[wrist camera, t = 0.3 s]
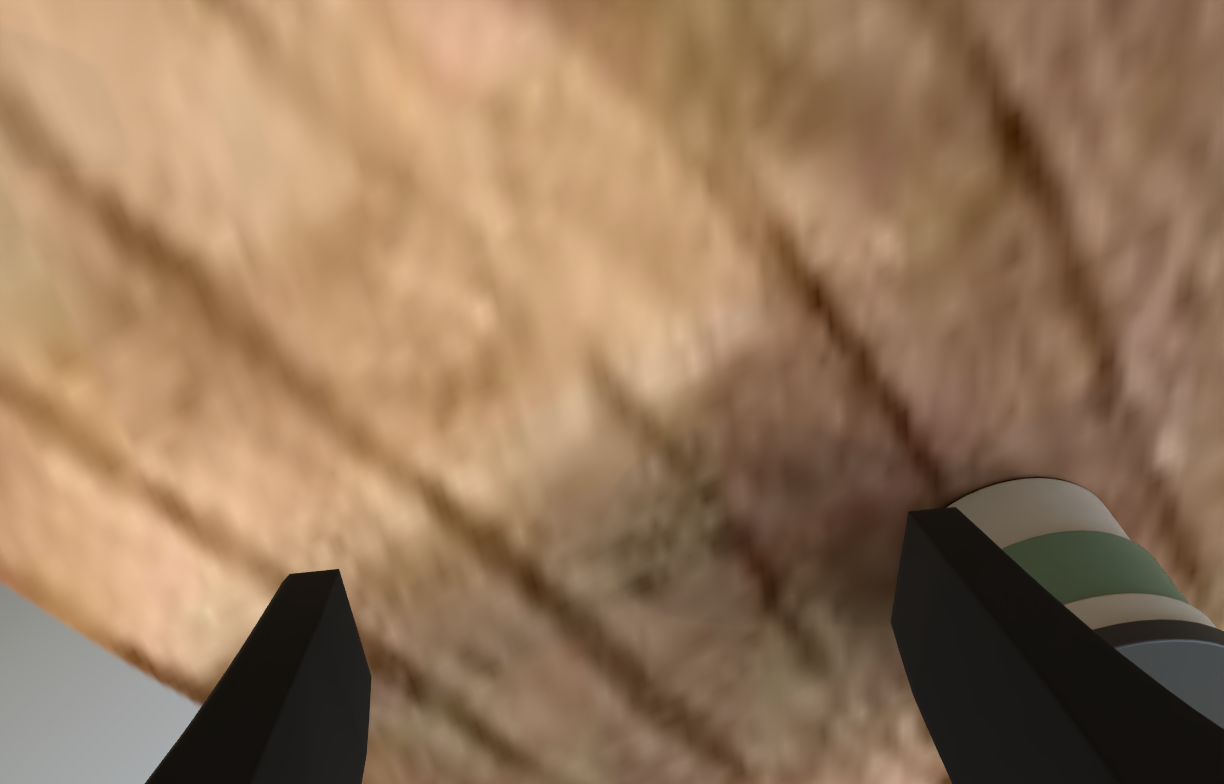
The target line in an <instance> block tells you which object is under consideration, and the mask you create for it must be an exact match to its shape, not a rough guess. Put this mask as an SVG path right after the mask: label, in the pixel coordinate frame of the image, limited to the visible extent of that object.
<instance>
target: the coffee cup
mask: <svg viewBox="0 0 1224 784" xmlns="http://www.w3.org/2000/svg"><path fill="white" fill-rule="evenodd" d="M949 507H956V508H957V509H959V510H960V511H961V512H962V513H963V514H964V515H965V516H966V517H967V518H968V519H970V520H971V521H972V522H973V523H974V524H975V525H976V526H977V527H978V528H979V529H981V530H982V531H983V532H984V533H985V534H986V535H987V536H988V537H989V538H990V539H991V540H992V541H993V542H995V543H996V544H997V545H998V546H999V547H1000V548H1001V549H1002V550H1003V551H1004V552H1005V553H1006V554H1008V555H1009V556H1010V557H1011V558H1012V559H1013V560H1014V561H1015V562H1016V563H1017V564H1018V565H1020V566H1021V567H1022V568H1023V569H1024V570H1025V571H1026V572H1027V573H1028V574H1029V575H1030V576H1032V577H1033V578H1034V579H1035V580H1036V581H1037V582H1038V583H1039V584H1040V585H1042V586H1043V587H1044V588H1045V589H1046V590H1047V591H1048V592H1049V593H1051V594H1052V595H1053V596H1054V597H1055V598H1056V599H1057V600H1058V601H1060V602H1061V603H1062V604H1063V605H1064V606H1065V607H1067V608H1068V609H1069V610H1070V611H1071V612H1072V613H1074V614H1075V615H1076V616H1077V617H1078V618H1079V619H1081V620H1082V621H1083V622H1084V623H1085V624H1086V625H1088V626H1089V627H1090V628H1091V629H1092V630H1093V631H1095V632H1096V633H1097V634H1098V635H1099V636H1100V637H1102V638H1103V639H1104V640H1105V641H1106V642H1108V643H1109V644H1110V645H1111V646H1113V647H1114V648H1115V649H1116V650H1117V651H1119V652H1120V653H1121V654H1122V655H1124V656H1125V657H1126V658H1127V659H1129V660H1130V661H1131V662H1133V663H1134V664H1135V665H1136V666H1138V667H1139V668H1140V669H1142V670H1143V671H1144V672H1145V673H1147V674H1148V675H1149V676H1151V677H1152V678H1153V679H1154V680H1156V681H1157V682H1158V683H1160V684H1161V685H1162V686H1163V687H1165V688H1166V689H1167V690H1169V691H1170V692H1172V693H1173V694H1174V695H1176V696H1177V697H1178V698H1180V699H1181V700H1182V701H1184V702H1185V703H1187V704H1188V705H1189V706H1191V707H1192V708H1194V709H1195V710H1196V711H1198V712H1199V713H1201V714H1202V715H1204V716H1205V717H1207V718H1208V719H1209V720H1211V721H1212V722H1214V723H1215V724H1217V725H1218V726H1220V727H1221V728H1223V729H1224V631H1221V630H1219V629H1217V628H1216V627H1215V626H1214V624H1213V623H1212V622H1211V621H1210V620H1209V619H1208V618H1207V616H1206V615H1204V614H1203V613H1202V612H1200V611H1199V610H1197V609H1196V608H1194V607H1193V606H1191V605H1190V604H1189V603H1188V601H1187V600H1186V599H1185V597H1184V596H1183V595H1182V594H1181V592H1180V591H1179V590H1178V588H1177V587H1176V586H1175V584H1174V583H1173V582H1172V580H1171V579H1170V578H1169V576H1168V575H1167V574H1166V572H1165V571H1164V570H1163V569H1162V567H1161V566H1160V565H1159V563H1158V562H1157V561H1156V559H1155V558H1154V557H1153V556H1152V555H1151V554H1150V553H1149V552H1148V551H1147V550H1146V549H1144V548H1143V547H1142V546H1140V545H1139V544H1137V543H1135V542H1133V541H1131V540H1130V539H1129V537H1128V536H1127V535H1126V533H1125V532H1124V531H1123V529H1122V528H1121V527H1120V525H1119V524H1118V523H1117V521H1116V520H1115V519H1114V517H1113V516H1112V515H1111V513H1110V512H1109V511H1108V509H1107V508H1106V507H1105V505H1104V504H1103V503H1102V502H1101V501H1100V500H1099V499H1098V497H1096V496H1095V495H1094V494H1092V493H1091V492H1090V491H1088V490H1086V489H1084V488H1082V487H1080V486H1078V485H1075V484H1072V483H1069V482H1066V481H1061V480H1056V479H1046V478H1029V479H1019V480H1012V481H1007V482H1003V483H999V484H995V485H992V486H989V487H986V488H983V489H980V490H978V491H976V492H974V493H971V494H969V495H967V496H965V497H963V498H961V499H959V500H958V501H956V502H954V503H952V504H951V505H949V506H948V507H946V508H949Z"/></svg>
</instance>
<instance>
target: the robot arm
mask: <svg viewBox="0 0 1224 784" xmlns="http://www.w3.org/2000/svg"><path fill="white" fill-rule="evenodd" d="M891 624H892V628H893V631H894V634H895V638H896V641H897V645H898V648H899V651H900V655H901V658H902V662H903V665H904V668H905V671H906V674H907V677H908V680H909V683H910V687H911V690H912V693H913V696H914V698H915V700H916V703H917V705H918V707H919V710H920V712H921V714H922V717H923V719H924V721H925V723H926V726H927V728H928V730H929V732H930V735H931V737H932V739H933V741H934V744H935V746H936V748H937V750H938V753H939V755H940V757H941V759H942V762H943V764H944V766H945V768H946V770H947V773H948V775H949V777H950V779H951V781H952V784H1224V729H1223V728H1221V727H1220V726H1218V725H1217V724H1215V723H1214V722H1212V721H1211V720H1209V719H1208V718H1207V717H1205V716H1204V715H1202V714H1201V713H1199V712H1198V711H1196V710H1195V709H1194V708H1192V707H1191V706H1189V705H1188V704H1187V703H1185V702H1184V701H1182V700H1181V699H1180V698H1178V697H1177V696H1176V695H1174V694H1173V693H1172V692H1170V691H1169V690H1167V689H1166V688H1165V687H1163V686H1162V685H1161V684H1160V683H1158V682H1157V681H1156V680H1154V679H1153V678H1152V677H1151V676H1149V675H1148V674H1147V673H1145V672H1144V671H1143V670H1142V669H1140V668H1139V667H1138V666H1136V665H1135V664H1134V663H1133V662H1131V661H1130V660H1129V659H1127V658H1126V657H1125V656H1124V655H1122V654H1121V653H1120V652H1119V651H1117V650H1116V649H1115V648H1114V647H1113V646H1111V645H1110V644H1109V643H1108V642H1106V641H1105V640H1104V639H1103V638H1102V637H1100V636H1099V635H1098V634H1097V633H1096V632H1095V631H1093V630H1092V629H1091V628H1090V627H1089V626H1088V625H1086V624H1085V623H1084V622H1083V621H1082V620H1081V619H1079V618H1078V617H1077V616H1076V615H1075V614H1074V613H1072V612H1071V611H1070V610H1069V609H1068V608H1067V607H1065V606H1064V605H1063V604H1062V603H1061V602H1060V601H1058V600H1057V599H1056V598H1055V597H1054V596H1053V595H1052V594H1051V593H1049V592H1048V591H1047V590H1046V589H1045V588H1044V587H1043V586H1042V585H1040V584H1039V583H1038V582H1037V581H1036V580H1035V579H1034V578H1033V577H1032V576H1030V575H1029V574H1028V573H1027V572H1026V571H1025V570H1024V569H1023V568H1022V567H1021V566H1020V565H1018V564H1017V563H1016V562H1015V561H1014V560H1013V559H1012V558H1011V557H1010V556H1009V555H1008V554H1006V553H1005V552H1004V551H1003V550H1002V549H1001V548H1000V547H999V546H998V545H997V544H996V543H995V542H993V541H992V540H991V539H990V538H989V537H988V536H987V535H986V534H985V533H984V532H983V531H982V530H981V529H979V528H978V527H977V526H976V525H975V524H974V523H973V522H972V521H971V520H970V519H968V518H967V517H966V516H965V515H964V514H963V513H962V512H961V511H960V510H959V509H957V508H956V507H949V508H939V509H929V510H919V511H910V512H908V517H907V524H906V530H905V536H904V543H903V549H902V555H901V561H900V568H899V574H898V580H897V587H896V593H895V599H894V605H893V612H892V618H891ZM370 693H371V674H370V670H369V667H368V664H367V661H366V657H365V654H364V651H363V647H362V644H361V641H360V637H359V634H358V631H357V627H356V624H355V621H354V617H353V614H352V611H351V607H350V604H349V601H348V598H347V594H346V591H345V588H344V584H343V581H342V578H341V574H340V571H339V569H335V570H325V571H315V572H305V573H295V574H289V575H288V577H287V578H286V579H285V580H284V581H283V582H282V584H281V585H280V587H279V589H278V590H277V592H276V593H275V595H274V597H273V598H272V600H271V602H270V603H269V605H268V606H267V608H266V610H265V611H264V613H263V615H262V616H261V618H260V619H259V621H258V623H257V624H256V626H255V627H254V629H253V630H252V632H251V634H250V635H249V637H248V638H247V640H246V641H245V643H244V645H243V646H242V648H241V649H240V651H239V652H238V654H237V655H236V657H235V658H234V660H233V661H232V663H231V665H230V666H229V668H228V669H227V671H226V672H225V673H224V675H223V676H222V678H221V679H220V681H219V682H218V684H217V685H216V687H215V688H214V689H213V691H212V692H211V694H210V695H209V697H208V698H207V700H206V701H205V703H204V704H203V705H202V707H201V708H200V710H199V711H198V713H197V714H196V716H195V717H194V719H193V720H192V721H191V723H190V724H189V726H188V727H187V728H186V730H185V731H184V733H183V734H182V735H181V737H180V738H179V739H178V740H177V742H176V743H175V744H174V746H173V747H172V748H171V750H170V751H169V752H168V754H167V755H166V756H165V758H164V759H163V760H162V762H161V763H160V764H159V766H158V767H157V768H156V770H155V771H154V772H153V773H152V775H151V776H150V778H149V779H148V780H147V781H146V783H145V784H361V783H362V778H363V772H364V766H365V760H366V754H367V741H368V727H369V711H370Z"/></svg>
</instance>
